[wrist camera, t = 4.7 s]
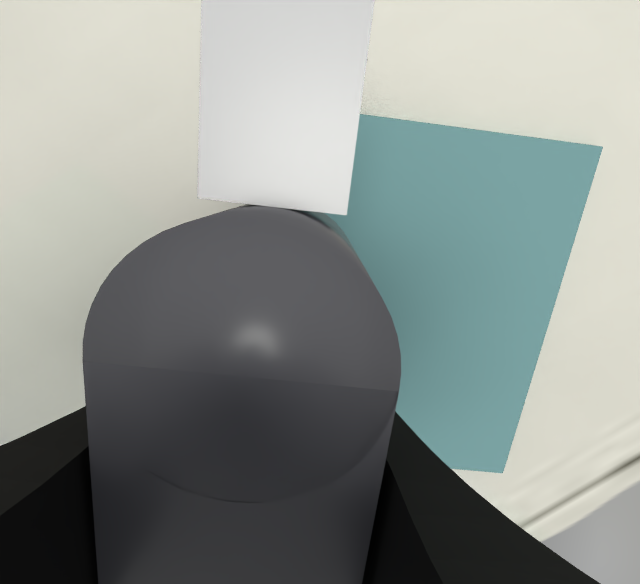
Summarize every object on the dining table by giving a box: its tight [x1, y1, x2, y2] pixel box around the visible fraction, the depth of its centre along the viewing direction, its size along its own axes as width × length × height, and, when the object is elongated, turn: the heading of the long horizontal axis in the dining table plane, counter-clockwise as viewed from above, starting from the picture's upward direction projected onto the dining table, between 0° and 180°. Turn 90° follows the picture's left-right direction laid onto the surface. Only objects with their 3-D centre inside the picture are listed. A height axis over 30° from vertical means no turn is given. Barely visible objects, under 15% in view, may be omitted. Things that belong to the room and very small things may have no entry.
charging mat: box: [325, 114, 603, 473], centre depth 17 cm, size 16×13×1 cm
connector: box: [83, 0, 401, 584], centre depth 8 cm, size 13×4×5 cm, turn 173°
